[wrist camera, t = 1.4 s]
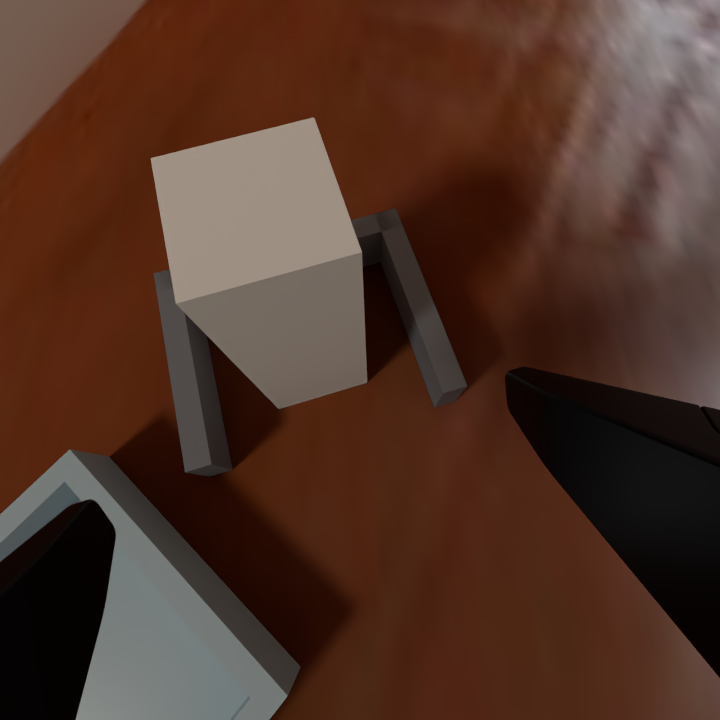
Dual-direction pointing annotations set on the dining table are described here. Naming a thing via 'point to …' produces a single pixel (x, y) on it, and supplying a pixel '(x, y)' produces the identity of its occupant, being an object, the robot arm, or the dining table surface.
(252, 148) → the tall beige block
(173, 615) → the tray
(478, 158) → the dining table surface
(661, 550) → the robot arm
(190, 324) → the bay
